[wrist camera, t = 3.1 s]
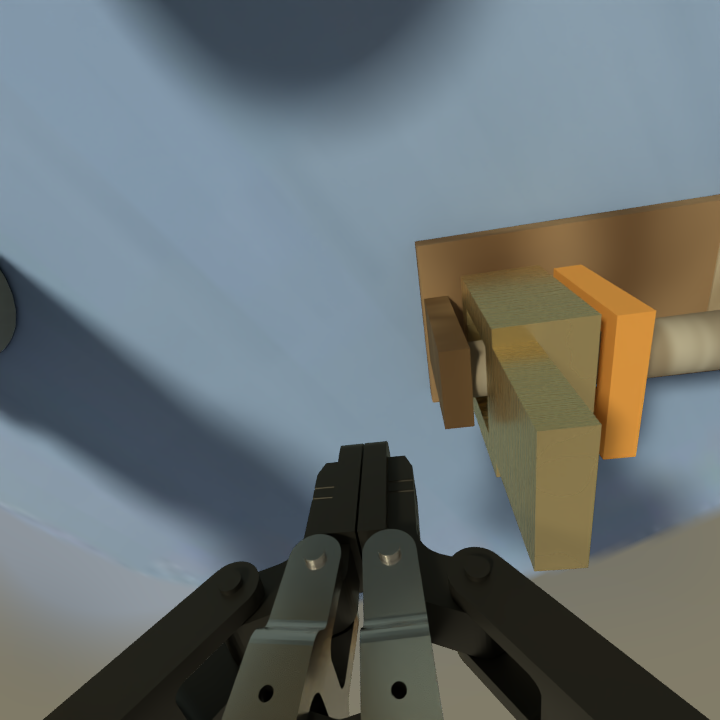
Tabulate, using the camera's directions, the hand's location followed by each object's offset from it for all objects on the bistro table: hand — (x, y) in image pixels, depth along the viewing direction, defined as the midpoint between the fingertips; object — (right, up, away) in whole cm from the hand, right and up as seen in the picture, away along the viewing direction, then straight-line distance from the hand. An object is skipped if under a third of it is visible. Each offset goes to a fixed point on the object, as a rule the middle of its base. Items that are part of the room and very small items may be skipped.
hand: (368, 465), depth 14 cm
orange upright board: (+10, +5, +7) cm, 13 cm away
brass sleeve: (+7, +5, +7) cm, 11 cm away
